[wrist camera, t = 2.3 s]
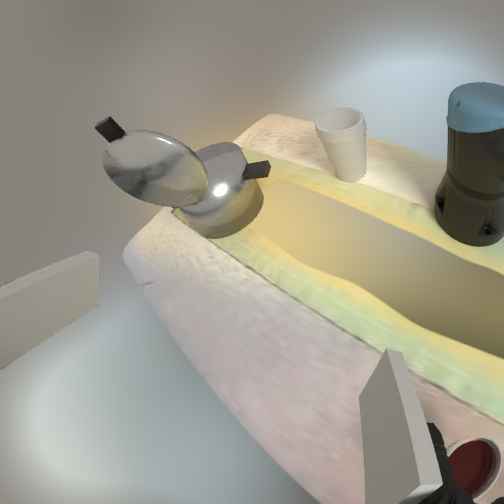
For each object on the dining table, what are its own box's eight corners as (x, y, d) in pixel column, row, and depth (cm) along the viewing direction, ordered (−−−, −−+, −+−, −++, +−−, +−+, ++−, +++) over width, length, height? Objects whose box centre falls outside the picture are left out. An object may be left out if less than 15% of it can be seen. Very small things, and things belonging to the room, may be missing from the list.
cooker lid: (229, 195, 48) (228, 201, 48) (151, 208, 56) (149, 213, 56) (148, 95, 31) (144, 101, 30) (72, 138, 38) (69, 143, 38)
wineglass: (475, 462, 20) (513, 465, 11) (432, 498, 20) (456, 518, 11) (451, 428, 25) (482, 419, 16) (407, 463, 25) (423, 471, 16)
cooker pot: (275, 234, 55) (251, 187, 47) (168, 242, 66) (138, 206, 58) (288, 175, 64) (271, 131, 56) (193, 190, 76) (170, 156, 67)
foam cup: (329, 162, 62) (314, 112, 53) (369, 156, 59) (359, 104, 49) (331, 190, 57) (315, 136, 47) (376, 184, 53) (367, 127, 44)
